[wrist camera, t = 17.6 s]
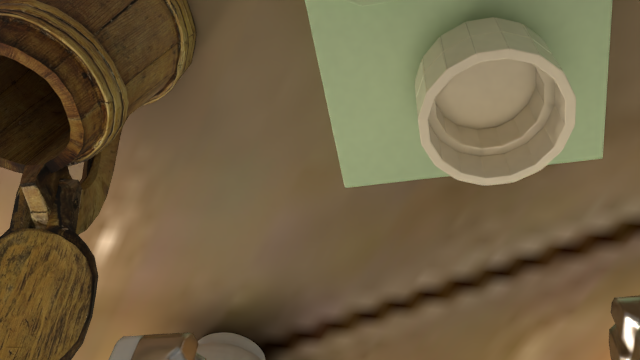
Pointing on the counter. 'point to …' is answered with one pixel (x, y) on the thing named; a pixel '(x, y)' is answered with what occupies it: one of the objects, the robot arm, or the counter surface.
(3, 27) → the wooden mug
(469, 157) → the bowl
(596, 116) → the scale
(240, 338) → the teacup
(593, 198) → the counter surface
